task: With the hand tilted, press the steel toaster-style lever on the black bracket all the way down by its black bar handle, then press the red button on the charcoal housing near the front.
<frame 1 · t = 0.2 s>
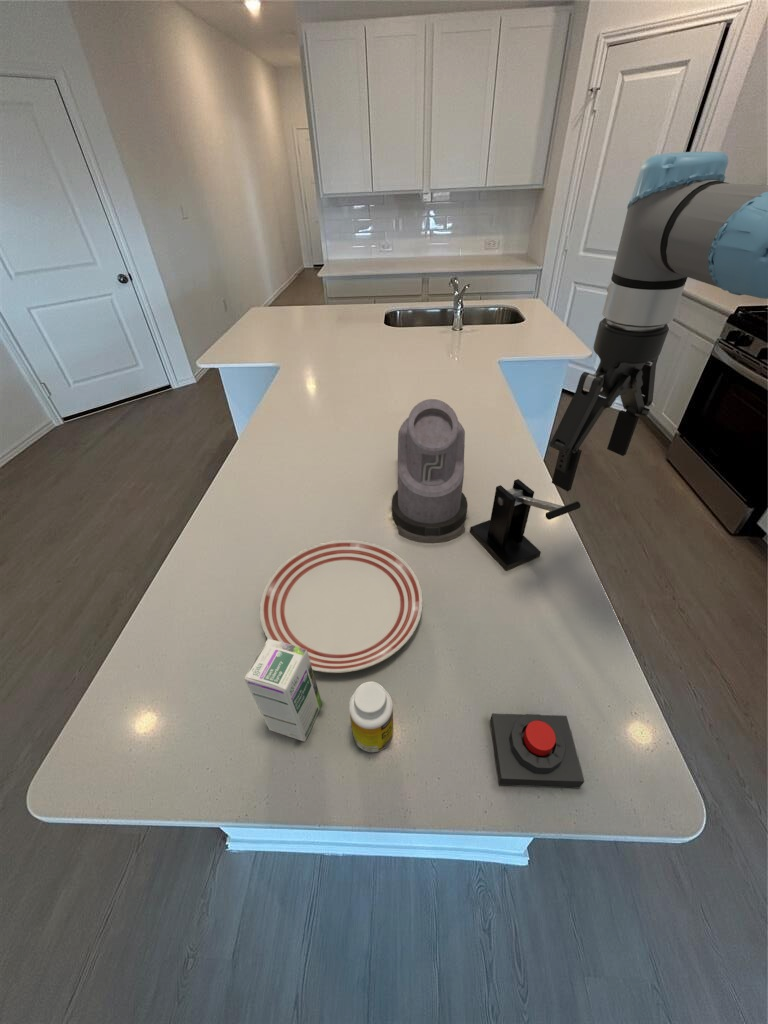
hand: (589, 468, 66), 24 cm above the counter, tool pointing down, fingers open, 13 cm apart
grey piece: (426, 497, 99), on the counter
supplement bottle: (373, 732, 61), on the counter
bracket: (503, 544, 87), on the counter
button: (539, 737, 55), point 5 cm above the counter, slide at 0.2 cm
syrup box: (295, 717, 62), on the counter
dinner plate: (343, 608, 77), on the counter
button block: (532, 752, 58), on the counter
lever: (534, 502, 74), point 14 cm above the counter, hinge at 25.0°
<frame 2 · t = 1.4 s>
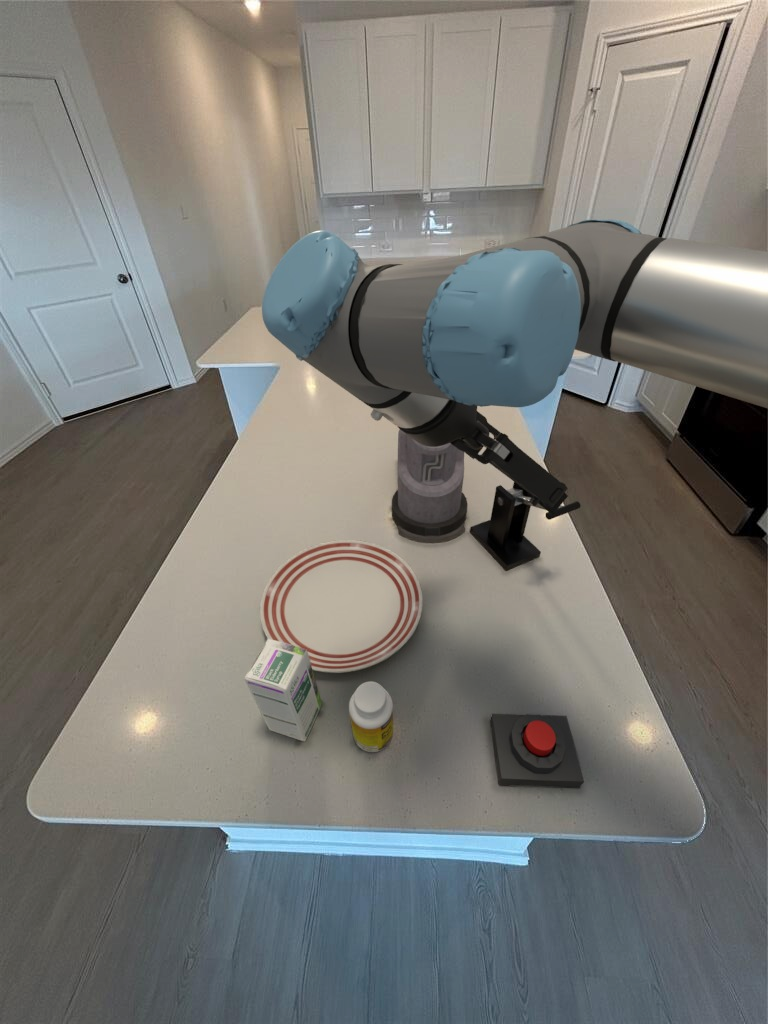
hand: (514, 474, 55), 30 cm above the counter, tool tilted 45°, fingers open, 13 cm apart
nothing on the counter moved.
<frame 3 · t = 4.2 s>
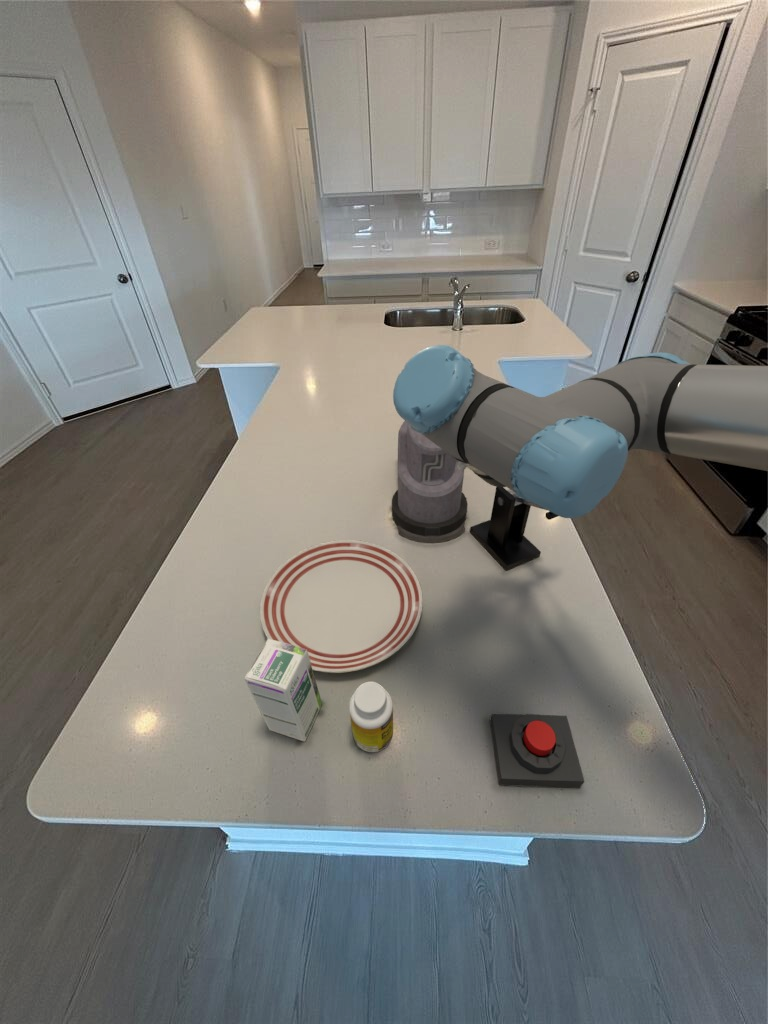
hand: (558, 504, 67), 19 cm above the counter, tool tilted 45°, fingers closed
lever: (534, 502, 74), point 14 cm above the counter, hinge at 25.0°, touching gripper
everything else where it was.
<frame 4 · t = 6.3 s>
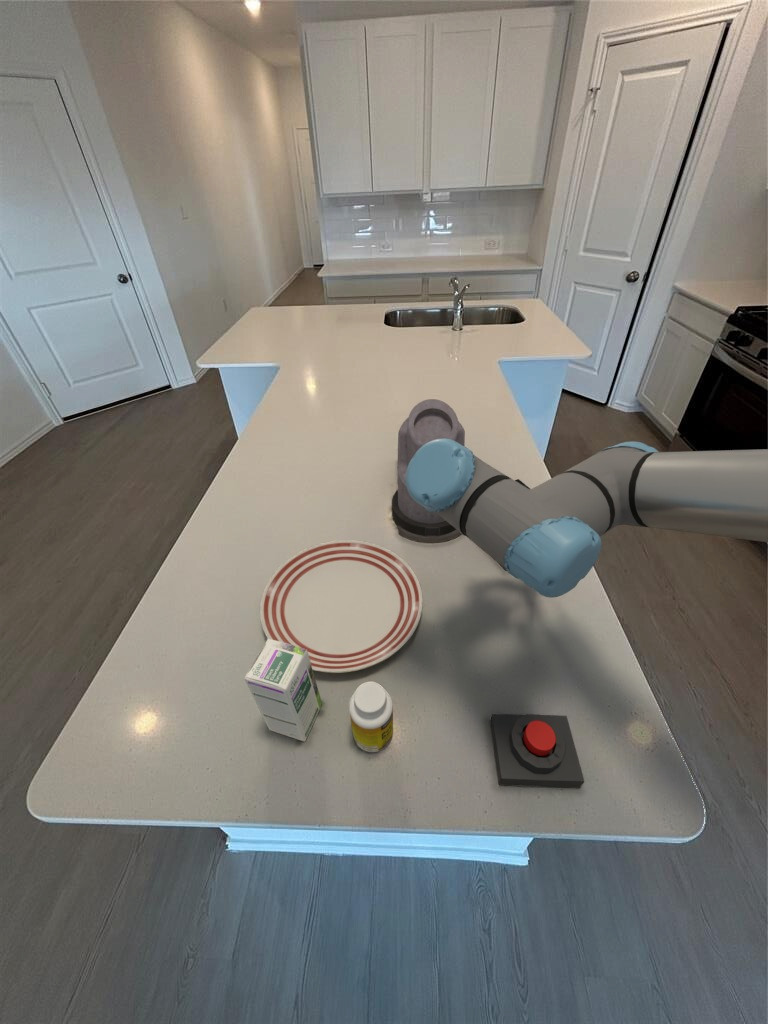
hand: (552, 547, 73), 9 cm above the counter, tool tilted 45°, fingers closed
lever: (530, 522, 77), point 10 cm above the counter, hinge at -22.5°, touching gripper
everything else where it was.
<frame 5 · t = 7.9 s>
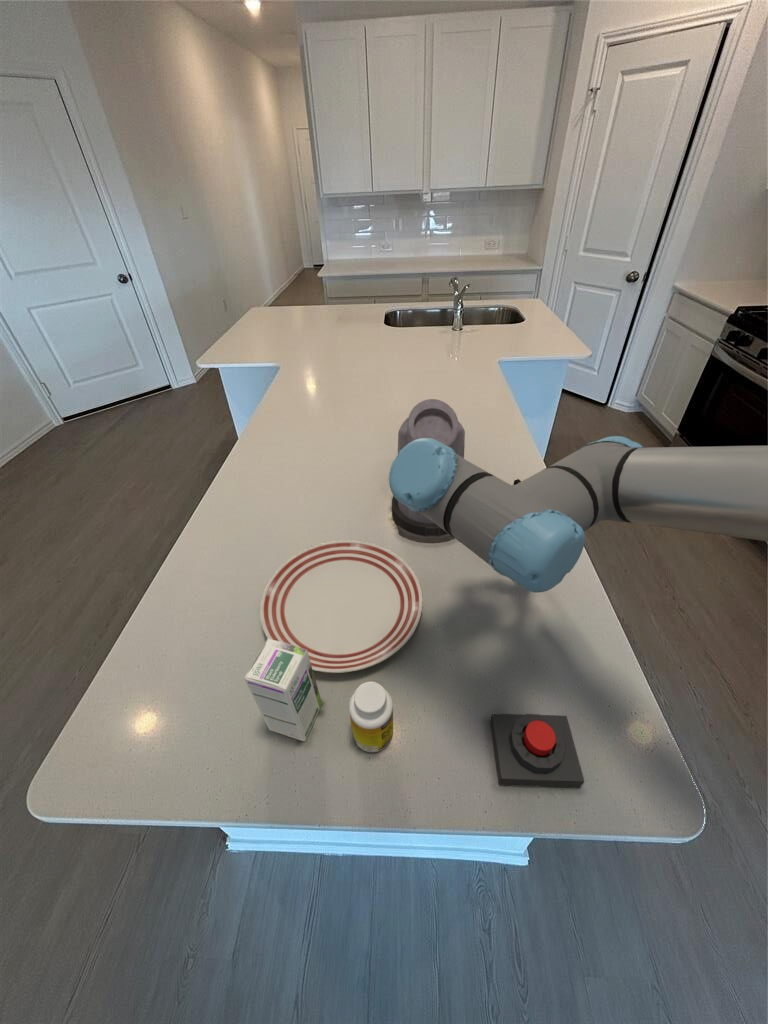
hand: (543, 548, 73), 9 cm above the counter, tool tilted 45°, fingers closed
lever: (528, 524, 78), point 9 cm above the counter, hinge at -30.7°
everything else where it was.
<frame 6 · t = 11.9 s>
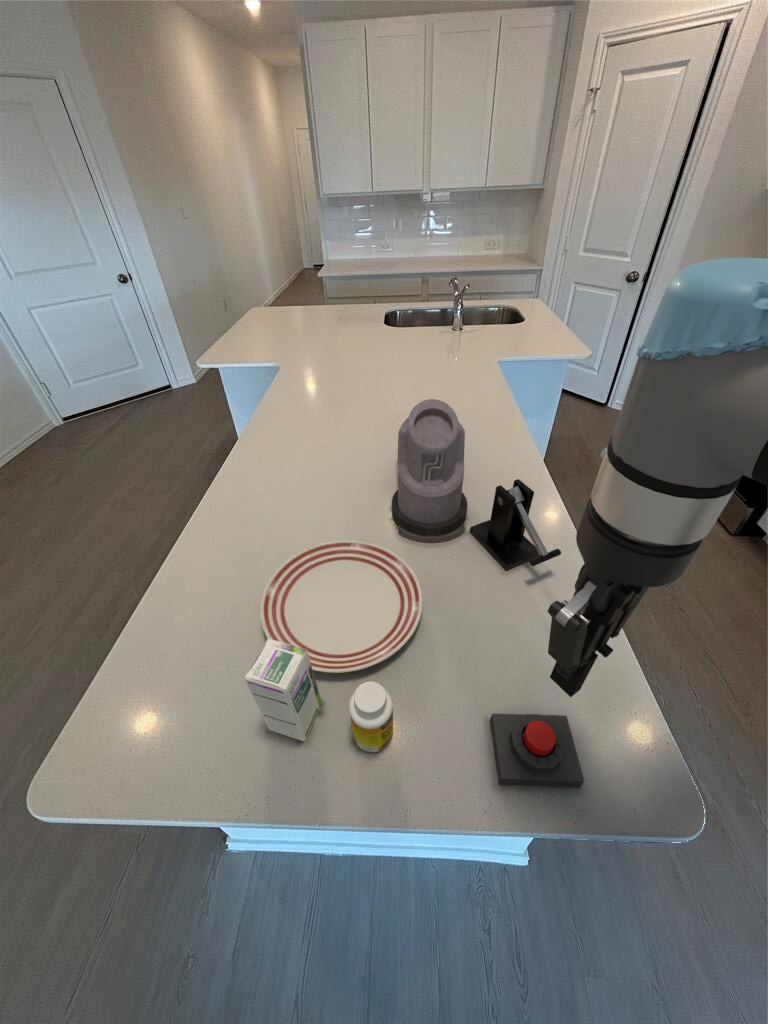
hand: (564, 683, 46), 18 cm above the counter, tool pointing down, fingers closed
nothing on the counter moved.
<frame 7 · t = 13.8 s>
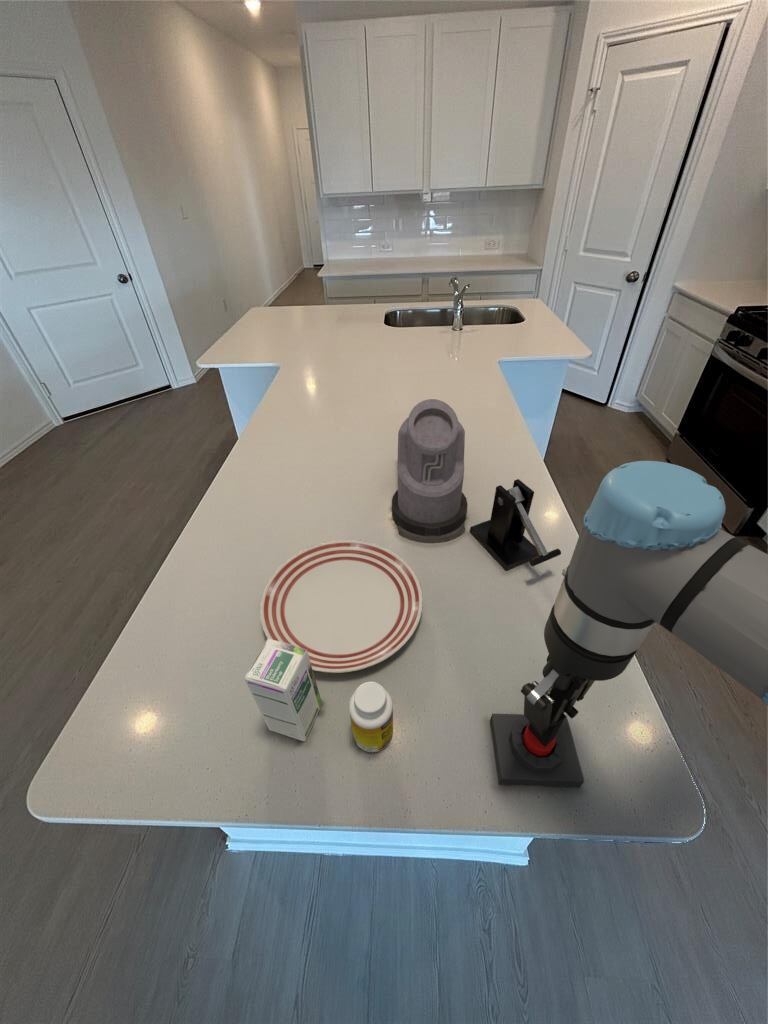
hand: (540, 733, 54), 6 cm above the counter, tool pointing down, fingers closed
button: (539, 738, 55), point 4 cm above the counter, slide at 0.0 cm, touching gripper
everything else where it was.
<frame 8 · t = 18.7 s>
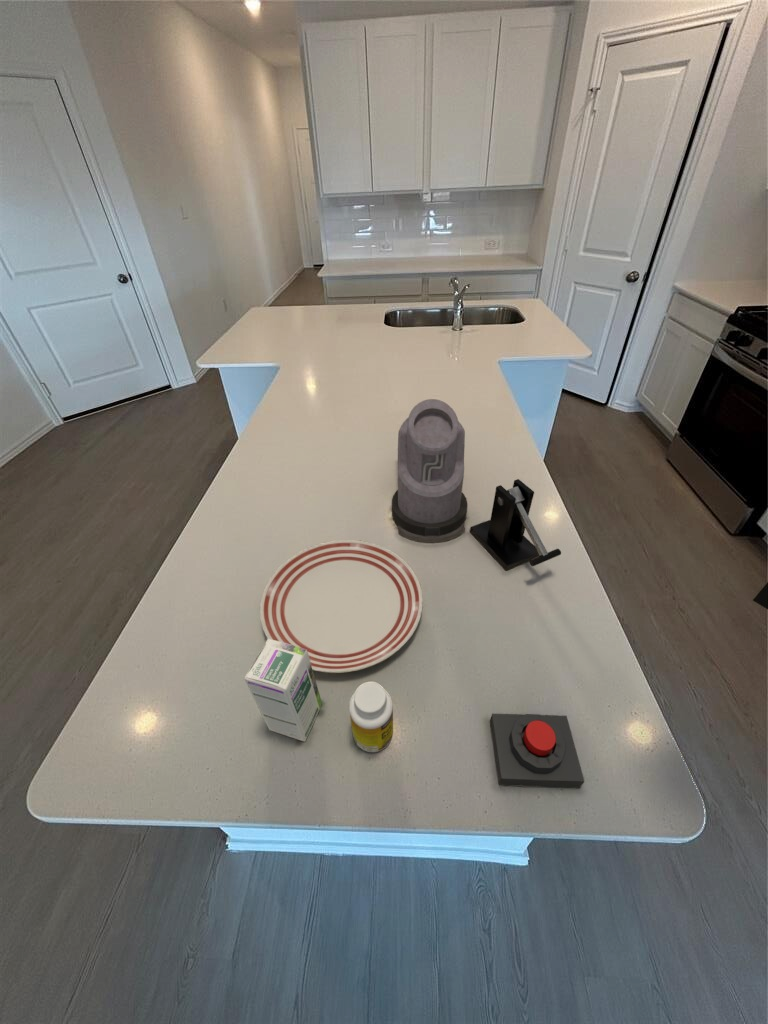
button: (539, 737, 55), point 5 cm above the counter, slide at 0.2 cm
everything else where it was.
at the end: lever at -31° (first picture: +25°); button pushed in 1.0 cm at the most during the clip, back to 0.2 cm at the end; button slide at 0.2 cm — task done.
